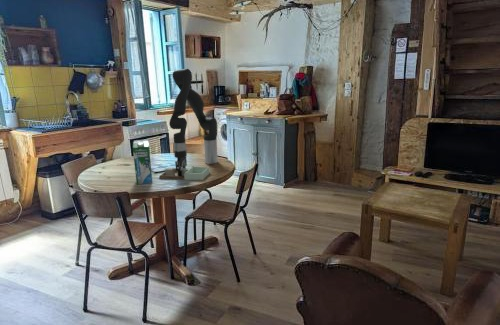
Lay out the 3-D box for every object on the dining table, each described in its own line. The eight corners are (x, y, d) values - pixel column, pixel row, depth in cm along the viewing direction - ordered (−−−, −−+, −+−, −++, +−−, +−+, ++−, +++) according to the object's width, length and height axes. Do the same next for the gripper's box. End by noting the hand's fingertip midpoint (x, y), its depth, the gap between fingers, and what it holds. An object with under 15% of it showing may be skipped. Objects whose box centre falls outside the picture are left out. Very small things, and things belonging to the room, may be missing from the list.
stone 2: (180, 174, 226) (179, 167, 225) (186, 174, 226) (186, 168, 224) (177, 176, 222) (177, 169, 221) (184, 176, 221) (183, 169, 220)
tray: (169, 172, 233) (168, 169, 233) (192, 173, 231) (191, 169, 230) (159, 179, 218) (159, 175, 218) (184, 180, 216) (183, 176, 215)
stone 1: (168, 174, 228) (167, 167, 226) (174, 174, 227) (174, 167, 226) (165, 176, 223) (165, 169, 222) (172, 176, 222) (171, 169, 221)
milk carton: (136, 185, 208) (132, 143, 202) (137, 181, 217) (133, 141, 211) (152, 183, 210) (148, 142, 204) (152, 179, 219) (148, 140, 213)
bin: (192, 173, 230) (192, 166, 229) (209, 173, 229) (209, 167, 227) (184, 180, 215) (183, 173, 214) (202, 180, 213) (202, 173, 212)
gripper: (178, 147, 227) (180, 171, 231) (170, 151, 213) (172, 177, 217) (189, 147, 226) (191, 172, 230) (181, 151, 212) (183, 178, 216)
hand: (182, 174), depth 224 cm, fingers open, 7 cm apart
